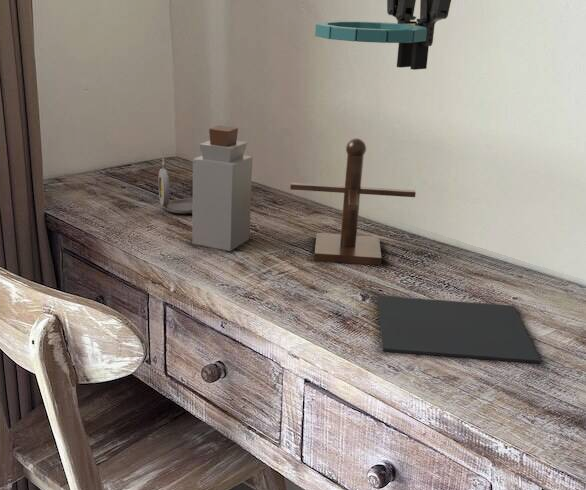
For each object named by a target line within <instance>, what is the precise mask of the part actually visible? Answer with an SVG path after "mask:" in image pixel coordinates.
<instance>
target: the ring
mask: <svg viewBox="0 0 586 490" xmlns="http://www.w3.org/2000/svg"><path fill="white" fill-rule="evenodd" d="M314 33H315V35H314V37H318V38H322V39H327V40H336V41H347V42H359V43H377V44H379V43H380V44H381V43H382V44H386V43H387V44H399V43H414V42H422V41H426V37H427V28H426V27H423V26H416V25H415V23H412V24H398V22H397V23H396V22H385V21H384V22H382V21H359V20H358V21H357V20H332V21H331V20H329V21H328V20H327V21H317V22H316V23H315V32H314Z"/></svg>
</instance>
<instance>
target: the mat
mask: <svg viewBox="0 0 586 490" xmlns="http://www.w3.org/2000/svg"><path fill="white" fill-rule="evenodd" d="M377 307H378V317H379V326H380V334H381V336H380V337H381V346H382V352H390V353H401V354H415V355H426V356H439V357H451V358H466V359H475V360H489V361H490V360H491V361H504V362H516V363H528V364H529V363H530V364H541V359H540V356H539V354H538V352H537V350H536V348H535V346H534V344H533V342H532V340H531V338H530V336H529V334H528V332H527V330H526V327H525V326H524V324H523V322H522V320H521V318H520V316H519V313H518V312H517V310H516V307H515V305H509V304H495V303H494V304H493V303H480V302H479V303H478V302H467V301H452V300H438V299H425V298H414V297H413V298H412V297H399V296H385V295H384V296H383V295H377Z"/></svg>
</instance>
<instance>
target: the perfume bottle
mask: <svg viewBox="0 0 586 490" xmlns="http://www.w3.org/2000/svg"><path fill="white" fill-rule="evenodd" d="M238 132H239V128H238V127H233V126H226V125H216V126H214V127H210V128H208V134H209V140H207V141H204V142H201V143H199V144H198V145H199V148H200V152H201V155H199V156H197V157H194V158H193V159H192V200H193V207H192V213H191V214H192V216H191V217H192V218H191V219H192V221H191V223H192V224H191V225H192V226H191V241H192V242H191V244H193V245H198V246H202V247H208V248H213V249H218V250H223V251H228V252H231V251H233V250H235V249H236V248H237V247H239V246H241V245H243V244H244V243H246V242H247V241H249V240H250V238H251V237H250V234H251V209H252V184H253V183H252V180H253V156H251V155H246V154H245V150H246V148H247V144H248V142H247V141H242V140H241V141H240V140H238Z"/></svg>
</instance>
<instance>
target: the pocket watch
mask: <svg viewBox="0 0 586 490" xmlns="http://www.w3.org/2000/svg"><path fill="white" fill-rule="evenodd" d="M160 157H161V160H162V163H161V164H162V168H160V169H159V171H158V182H157V183H158V197H159V202H160V206H161V207H163V208H165V210H167V212H170V213H175V214H181V215H189V214H192V207H193V199H173V200H170V197H171V195H170V194H171V187H170V186H171V185H170V176H169V172H168V170H167V162H166V159H165V158H164V155H163V154H161V155H160Z"/></svg>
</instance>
